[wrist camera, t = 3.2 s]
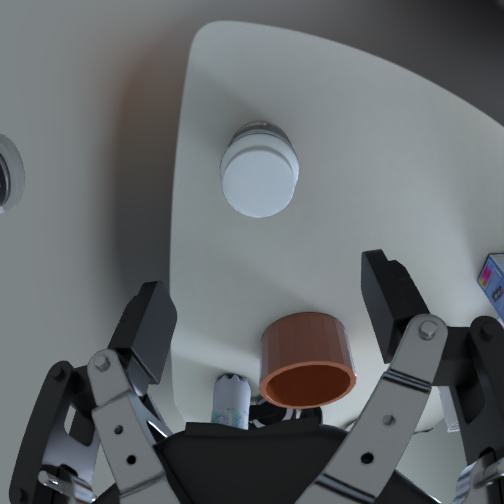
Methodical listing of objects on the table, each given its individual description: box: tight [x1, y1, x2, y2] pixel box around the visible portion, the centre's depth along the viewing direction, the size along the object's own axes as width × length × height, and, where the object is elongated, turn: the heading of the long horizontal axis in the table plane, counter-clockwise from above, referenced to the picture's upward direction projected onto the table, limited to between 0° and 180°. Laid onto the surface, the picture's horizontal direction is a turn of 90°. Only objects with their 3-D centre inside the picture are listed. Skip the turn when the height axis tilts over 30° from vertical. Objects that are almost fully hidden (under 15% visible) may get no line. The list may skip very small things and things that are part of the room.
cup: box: [438, 386, 460, 433], centre depth 37 cm, size 8×8×16 cm
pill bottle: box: [220, 122, 299, 217], centre depth 23 cm, size 6×6×10 cm
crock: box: [259, 313, 356, 409], centre depth 38 cm, size 13×13×8 cm
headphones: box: [248, 398, 323, 430], centre depth 52 cm, size 18×8×20 cm
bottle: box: [211, 375, 251, 430], centre depth 40 cm, size 7×7×20 cm
